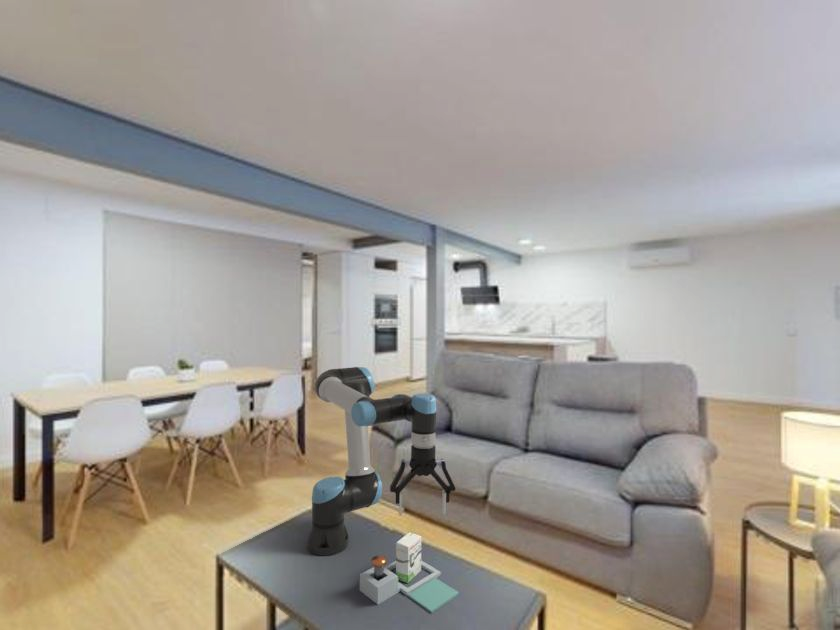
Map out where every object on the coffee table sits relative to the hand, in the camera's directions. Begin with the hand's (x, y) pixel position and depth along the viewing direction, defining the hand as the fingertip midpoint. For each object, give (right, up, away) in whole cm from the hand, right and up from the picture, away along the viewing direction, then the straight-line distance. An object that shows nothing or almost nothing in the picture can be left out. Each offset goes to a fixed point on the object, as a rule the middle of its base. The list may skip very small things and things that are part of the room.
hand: (422, 513), depth 133 cm
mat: (+3, -24, -2) cm, 24 cm away
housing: (-8, -24, +5) cm, 26 cm away
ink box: (-4, -24, +8) cm, 26 cm away
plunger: (-13, -20, -1) cm, 24 cm away
